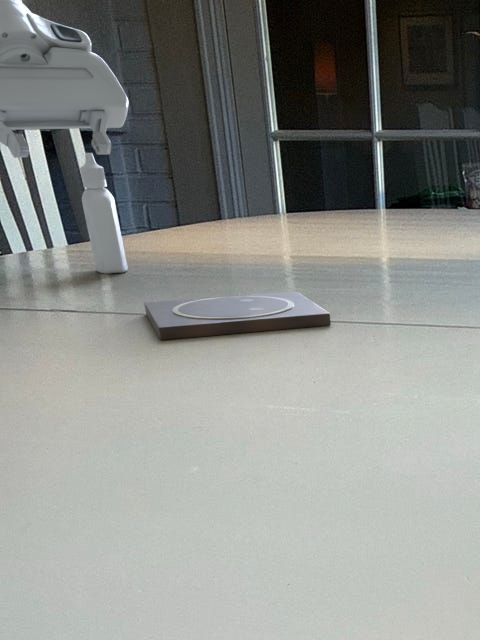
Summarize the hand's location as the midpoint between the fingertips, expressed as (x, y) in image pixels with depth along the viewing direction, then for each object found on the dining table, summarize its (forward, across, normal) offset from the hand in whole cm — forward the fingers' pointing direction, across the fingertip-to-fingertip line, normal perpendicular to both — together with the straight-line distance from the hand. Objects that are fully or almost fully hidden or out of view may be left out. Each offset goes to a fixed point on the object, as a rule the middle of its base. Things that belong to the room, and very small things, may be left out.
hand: (64, 151), depth 102 cm
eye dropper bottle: (+13, 0, +4) cm, 14 cm away
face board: (+38, -4, -21) cm, 44 cm away
